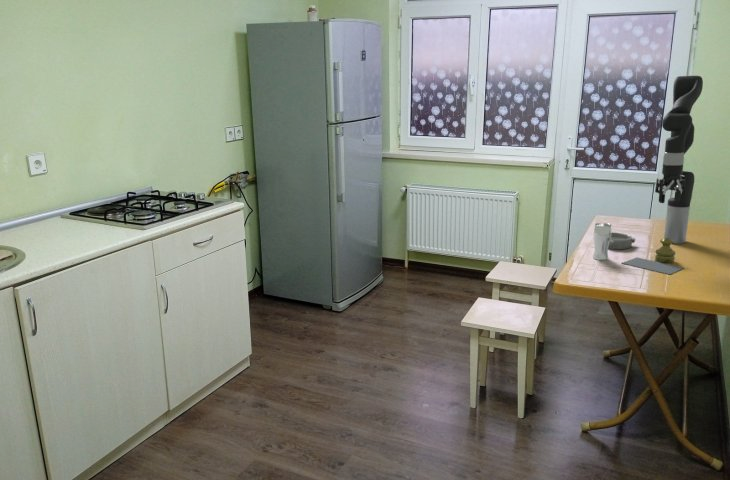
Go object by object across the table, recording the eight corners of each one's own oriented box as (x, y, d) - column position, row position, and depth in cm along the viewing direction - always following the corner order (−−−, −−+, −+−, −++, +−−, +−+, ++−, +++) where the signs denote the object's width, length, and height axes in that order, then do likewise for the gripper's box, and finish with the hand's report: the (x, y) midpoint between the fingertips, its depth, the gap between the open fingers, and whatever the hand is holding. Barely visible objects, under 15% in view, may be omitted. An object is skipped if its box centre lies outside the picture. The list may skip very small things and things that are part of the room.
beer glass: (596, 255, 259) (598, 222, 255) (611, 258, 254) (614, 224, 250) (589, 258, 254) (591, 224, 250) (604, 261, 249) (607, 227, 245)
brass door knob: (665, 264, 243) (668, 241, 240) (650, 260, 249) (653, 237, 247) (678, 262, 246) (681, 239, 243) (663, 257, 252) (665, 235, 250)
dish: (613, 251, 264) (613, 240, 262) (593, 244, 277) (594, 233, 275) (640, 248, 267) (641, 237, 266) (619, 241, 280) (620, 230, 279)
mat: (636, 258, 253) (636, 257, 253) (684, 268, 237) (684, 267, 237) (621, 263, 246) (621, 262, 246) (669, 274, 230) (669, 274, 230)
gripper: (678, 160, 247) (674, 198, 252) (652, 163, 242) (649, 202, 247) (693, 162, 240) (689, 201, 245) (667, 165, 236) (663, 205, 240)
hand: (669, 201), depth 246 cm, fingers open, 8 cm apart
